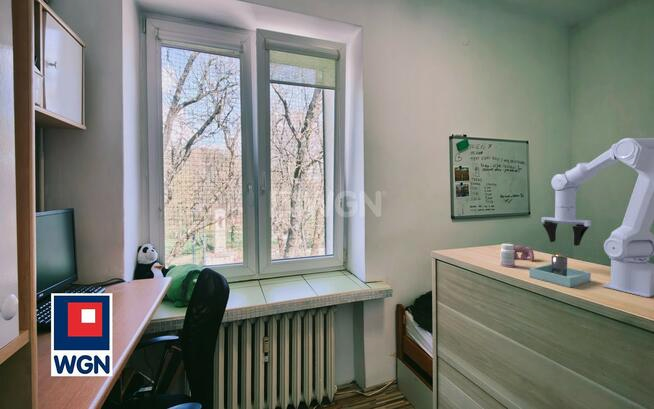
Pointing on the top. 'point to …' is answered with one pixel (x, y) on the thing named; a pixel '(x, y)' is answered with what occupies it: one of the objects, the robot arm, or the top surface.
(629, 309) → the top surface
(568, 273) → the tray
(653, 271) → the robot arm
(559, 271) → the dark grey bottle
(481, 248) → the top surface
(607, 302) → the top surface
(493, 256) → the top surface
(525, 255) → the video game controller
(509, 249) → the pill bottle
